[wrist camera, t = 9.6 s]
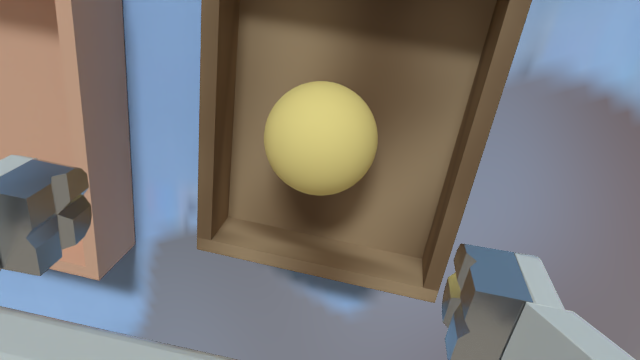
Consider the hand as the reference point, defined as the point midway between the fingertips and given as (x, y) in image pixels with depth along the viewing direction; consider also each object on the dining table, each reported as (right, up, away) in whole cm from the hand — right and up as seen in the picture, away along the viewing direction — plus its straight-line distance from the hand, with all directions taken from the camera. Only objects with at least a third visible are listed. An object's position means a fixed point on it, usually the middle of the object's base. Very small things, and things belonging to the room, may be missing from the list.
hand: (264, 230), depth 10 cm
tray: (+2, +4, +8) cm, 10 cm away
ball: (+1, +3, +6) cm, 7 cm away
